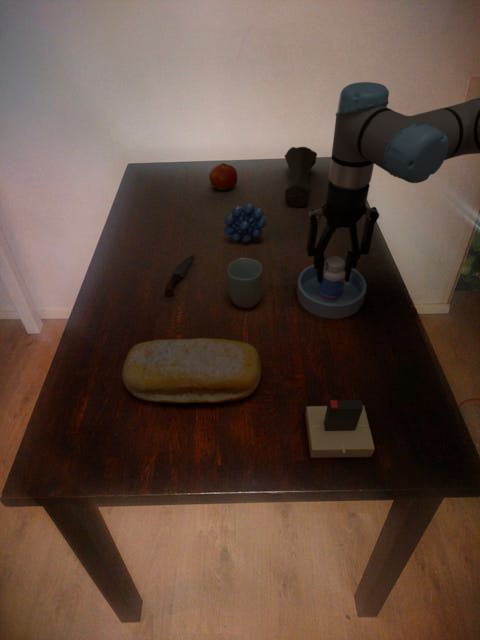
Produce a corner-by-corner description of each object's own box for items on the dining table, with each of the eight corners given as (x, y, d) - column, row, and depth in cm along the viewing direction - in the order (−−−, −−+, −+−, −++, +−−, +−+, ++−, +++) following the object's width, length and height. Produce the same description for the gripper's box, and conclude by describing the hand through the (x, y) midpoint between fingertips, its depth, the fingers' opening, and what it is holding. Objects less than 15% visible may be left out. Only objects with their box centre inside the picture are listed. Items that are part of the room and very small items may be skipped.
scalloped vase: (293, 172, 140) (290, 221, 123) (280, 148, 133) (275, 197, 116) (321, 159, 134) (322, 209, 118) (309, 133, 128) (308, 182, 111)
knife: (170, 293, 91) (153, 282, 92) (169, 299, 93) (152, 288, 93) (207, 260, 102) (191, 250, 103) (205, 266, 104) (190, 256, 104)
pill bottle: (340, 303, 88) (347, 270, 81) (317, 300, 89) (321, 267, 82) (342, 288, 92) (348, 255, 85) (319, 285, 93) (323, 252, 86)
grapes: (267, 234, 110) (267, 195, 101) (266, 248, 105) (266, 208, 96) (227, 233, 111) (224, 195, 102) (224, 247, 106) (220, 208, 97)
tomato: (205, 189, 130) (202, 166, 124) (222, 178, 135) (220, 155, 129) (226, 196, 126) (224, 173, 120) (243, 185, 130) (242, 162, 125)
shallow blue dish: (374, 289, 91) (377, 276, 89) (344, 329, 83) (347, 316, 80) (317, 267, 98) (319, 254, 95) (284, 301, 90) (285, 288, 87)
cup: (257, 316, 87) (256, 282, 80) (225, 309, 89) (221, 276, 82) (266, 294, 92) (267, 260, 85) (236, 288, 94) (234, 255, 87)
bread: (262, 408, 71) (262, 383, 65) (120, 412, 71) (108, 388, 66) (259, 351, 80) (259, 325, 74) (134, 355, 81) (124, 330, 75)
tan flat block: (360, 411, 69) (363, 401, 67) (372, 460, 63) (376, 452, 61) (304, 412, 70) (306, 402, 67) (310, 461, 63) (312, 453, 61)
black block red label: (353, 421, 65) (361, 398, 59) (355, 430, 63) (363, 407, 58) (323, 422, 65) (328, 399, 60) (324, 431, 64) (330, 408, 58)
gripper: (394, 170, 72) (369, 266, 89) (296, 173, 73) (290, 269, 90) (405, 189, 67) (377, 288, 84) (300, 193, 68) (293, 290, 85)
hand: (332, 278), depth 87 cm, fingers closed on pill bottle, 5 cm apart
